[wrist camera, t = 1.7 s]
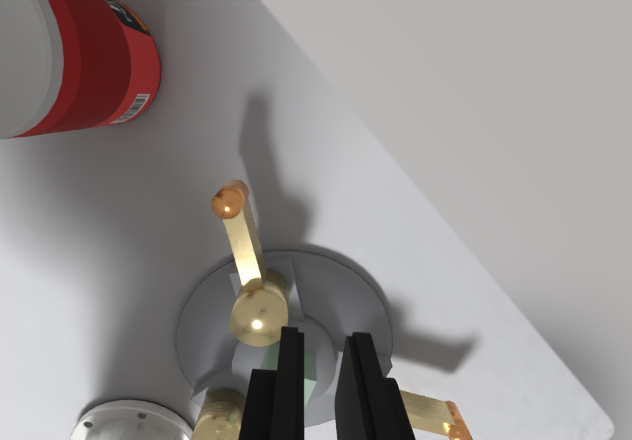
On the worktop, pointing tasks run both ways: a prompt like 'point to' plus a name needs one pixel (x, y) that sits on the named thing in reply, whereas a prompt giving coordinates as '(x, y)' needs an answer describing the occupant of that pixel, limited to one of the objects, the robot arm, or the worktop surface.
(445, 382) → the worktop surface
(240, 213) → the knob
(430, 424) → the knob
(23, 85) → the canned food
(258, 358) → the tribrach
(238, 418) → the knob
